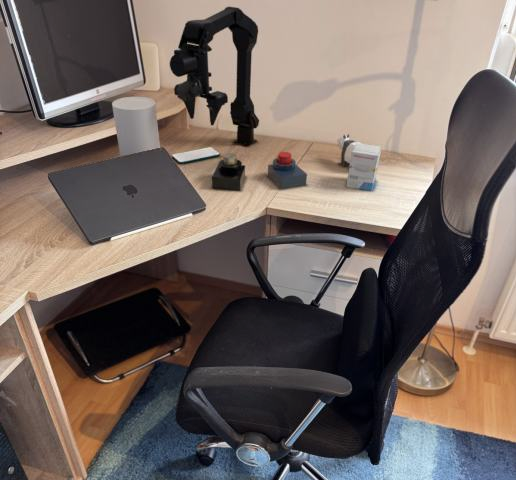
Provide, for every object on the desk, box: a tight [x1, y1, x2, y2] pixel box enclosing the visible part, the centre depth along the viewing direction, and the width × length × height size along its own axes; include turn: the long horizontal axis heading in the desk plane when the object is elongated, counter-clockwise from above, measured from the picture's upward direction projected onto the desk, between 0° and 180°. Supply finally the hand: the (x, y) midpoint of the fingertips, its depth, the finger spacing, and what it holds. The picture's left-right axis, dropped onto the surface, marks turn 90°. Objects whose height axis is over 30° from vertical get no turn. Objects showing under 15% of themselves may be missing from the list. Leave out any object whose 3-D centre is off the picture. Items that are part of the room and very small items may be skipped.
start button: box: [277, 151, 292, 165], centre depth 163 cm, size 4×4×3 cm
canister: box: [111, 96, 161, 157], centre depth 165 cm, size 14×14×20 cm
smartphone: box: [171, 146, 221, 165], centre depth 178 cm, size 8×1×16 cm
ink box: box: [345, 142, 382, 192], centre depth 161 cm, size 8×8×12 cm
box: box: [267, 157, 308, 190], centre depth 164 cm, size 12×9×6 cm
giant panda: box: [336, 134, 363, 167], centre depth 173 cm, size 15×6×10 cm, turn 29°
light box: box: [211, 159, 246, 192], centre depth 161 cm, size 12×9×6 cm
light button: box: [222, 152, 238, 166], centre depth 161 cm, size 4×4×3 cm
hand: (202, 121), depth 165 cm, fingers open, 9 cm apart
